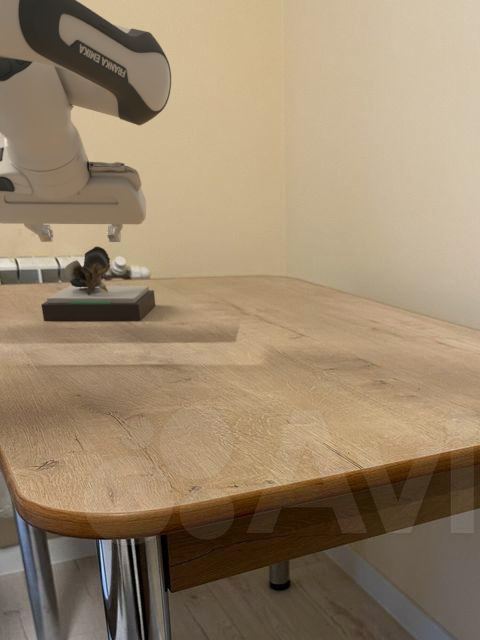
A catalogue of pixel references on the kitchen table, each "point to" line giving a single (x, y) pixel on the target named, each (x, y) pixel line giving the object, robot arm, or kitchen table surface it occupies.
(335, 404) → the kitchen table surface
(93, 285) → the eagle figurine
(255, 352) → the kitchen table surface
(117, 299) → the scale
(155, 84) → the robot arm
